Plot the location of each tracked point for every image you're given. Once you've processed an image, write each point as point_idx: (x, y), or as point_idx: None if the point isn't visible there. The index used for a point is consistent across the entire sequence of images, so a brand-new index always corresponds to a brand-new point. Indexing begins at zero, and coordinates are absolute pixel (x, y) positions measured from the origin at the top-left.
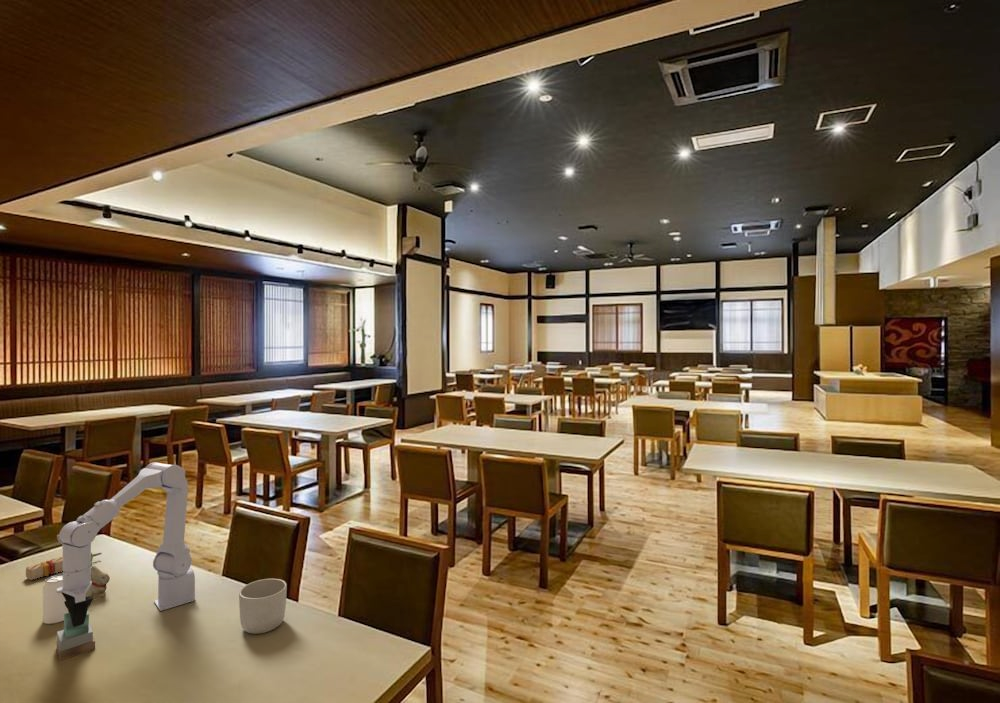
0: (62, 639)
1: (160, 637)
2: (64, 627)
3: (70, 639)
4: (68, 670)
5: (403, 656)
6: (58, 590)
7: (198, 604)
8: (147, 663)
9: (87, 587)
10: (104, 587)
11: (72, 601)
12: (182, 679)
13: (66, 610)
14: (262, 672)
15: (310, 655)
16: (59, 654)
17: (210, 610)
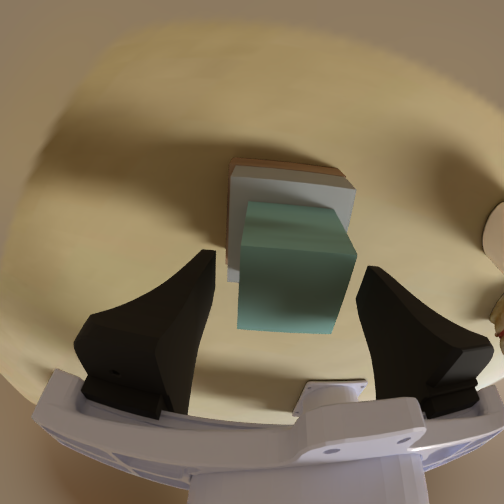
0: (249, 187)
1: None
2: (317, 218)
3: (229, 211)
4: (139, 167)
5: (25, 395)
6: (323, 449)
7: (271, 412)
8: (75, 300)
9: (167, 484)
10: (498, 333)
11: (115, 375)
12: (20, 307)
13: (496, 256)
14: (19, 352)
15: (38, 383)
16: (253, 161)
17: (225, 412)
